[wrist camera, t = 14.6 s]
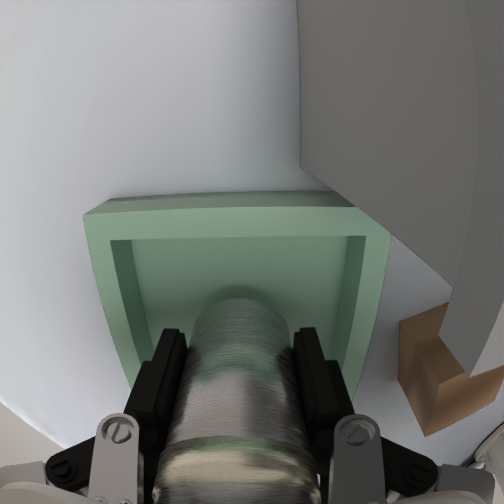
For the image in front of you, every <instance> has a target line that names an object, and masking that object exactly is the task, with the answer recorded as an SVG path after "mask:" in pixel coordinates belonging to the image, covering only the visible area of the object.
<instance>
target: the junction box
mask: <svg viewBox="0 0 504 504" xmlns="http://www.w3.org/2000/svg"><path fill="white" fill-rule="evenodd" d="M297 15H298V35H299V62H300V119H301V144H300V167H301V168H302V169H304V170H305V171H307V172H308V173H310V174H311V175H313V176H314V177H316V178H317V179H318V180H320V181H321V182H323V183H324V184H326V185H327V186H329V187H330V188H331V189H333V190H334V191H336V192H337V193H338V194H340V195H341V196H342V197H344V198H345V199H347V200H348V201H349V202H351V203H352V204H353V205H355V206H356V207H357V208H359V209H360V210H361V211H363V212H364V213H365V214H367V215H368V216H369V217H371V218H372V219H373V220H374V221H376V222H377V223H378V224H380V225H381V226H382V227H383V228H385V229H386V230H387V231H388V232H390V233H391V234H392V235H393V236H395V237H396V238H397V239H398V240H400V241H401V242H402V243H403V244H404V245H406V246H407V247H408V248H409V249H410V250H412V251H413V252H414V253H415V254H416V255H417V256H419V257H420V258H421V259H422V260H423V261H424V262H426V263H427V264H428V265H429V266H430V267H431V268H432V269H434V270H435V271H436V272H437V273H438V274H439V275H440V276H441V277H442V278H444V279H445V280H446V281H447V282H448V283H449V284H450V285H451V286H452V287H453V292H452V295H451V298H450V301H449V305H448V308H447V311H446V314H445V317H444V320H443V323H442V325H441V328H440V331H439V334H438V335H439V337H440V338H441V339H442V341H443V342H444V343H445V345H446V346H447V347H448V349H449V350H450V351H451V353H452V354H453V355H454V357H455V358H456V360H457V361H458V362H459V364H460V365H461V366H462V368H463V369H464V371H465V372H466V374H467V375H468V376H469V377H472V376H475V375H478V374H481V373H484V372H486V371H489V370H492V369H495V368H497V367H500V366H502V365H504V0H297Z"/></svg>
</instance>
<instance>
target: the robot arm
mask: <svg viewBox="0 0 504 504" xmlns="http://www.w3.org/2000/svg"><path fill="white" fill-rule="evenodd" d="M187 350H188V349H187V343H186V338H185V334H184V333H180V330H179V329H174V328H164V329H163V331H162V334H161V336H160V339H159V342H158V344H157V347H156V350H155V352H154V355H153V358H152V360H151V361H144V362H143V363H142V365H141V367H140V370H139V373H138V375H137V378H136V380H135V383H134V386H133V388H132V391H131V393H130V396H129V399H128V401H127V404H126V407H125V410H124V412H123V413H115V414H111V415H108V416H106V417H105V418H104V419H102V420H101V422H100V423H99V425H98V427H97V432H96V436H94V437H92V438H90V439H88V440H86V441H84V442H81V443H79V444H77V445H75V446H73V447H70V448H68V449H66V450H64V451H61V452H59V453H57V454H55V455H53V456H51V457H50V458H49V460H48V461H47V463H43V462H42V461H37V462H32V463H25V464H19V465H11V466H5V467H2V468H0V504H154V499H153V497H152V493H153V488H154V483H155V478H156V473H157V468H158V463H159V459H160V454H161V453H162V451H163V450H164V449H165V445H166V440H167V435H168V431H169V426H170V422H171V417H172V413H173V408H174V404H175V400H176V395H177V391H178V387H179V382H180V378H181V374H182V370H183V366H184V362H185V358H186V354H187ZM293 353H294V358H295V364H296V369H297V375H298V381H299V386H300V392H301V398H302V404H303V410H304V416H305V422H306V428H307V433H308V439H309V446H310V452H311V455H312V456H313V457H314V459H315V463H316V469H317V474H318V482H319V488H320V494H321V504H492V501H493V494H494V488H495V479H494V477H493V475H492V474H495V477H496V479H497V481H498V483H499V485H500V487H501V490H502V492H503V494H504V423H503V424H502V425H501V426H500V427H499V428H498V429H497V430H496V431H494V432H493V433H492V434H491V435H490V436H489V437H488V438H487V439H486V440H485V441H484V442H483V444H482V445H481V446H480V447H479V448H478V449H477V451H476V453H475V455H474V458H475V460H476V461H477V462H481V461H484V463H485V464H484V467H483V468H482V469H474V468H466V467H459V466H453V465H447V464H443V465H442V466H437V465H436V464H435V463H434V462H433V460H431V459H430V458H428V457H426V456H424V455H421V454H419V453H416V452H414V451H412V450H410V449H407V448H405V447H403V446H401V445H398V444H396V443H394V442H392V441H390V440H388V439H385V438H383V437H381V436H380V430H379V427H378V425H377V423H376V422H375V421H374V420H373V419H371V418H370V417H368V416H365V415H360V414H355V412H354V409H353V406H352V403H351V400H350V397H349V393H348V390H347V387H346V384H345V381H344V378H343V375H342V372H341V369H340V366H339V363H338V361H337V360H336V359H335V360H325V358H324V354H323V351H322V348H321V344H320V341H319V338H318V334H317V331H316V328H315V327H302V328H300V329H299V332H294V340H293Z"/></svg>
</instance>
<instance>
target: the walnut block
mask: <svg viewBox="0 0 504 504" xmlns="http://www.w3.org/2000/svg"><path fill="white" fill-rule="evenodd" d="M448 305H449V302H448V303H445V304H443V305H440V306H438V307H436V308H433V309H431V310H428V311H426V312H423V313H420V314H418V315H415V316H413V317H410V318H407V319H405V320H402V321H399V365H398V381H399V383H400V385H401V387H402V389H403V391H404V393H405V395H406V397H407V399H408V401H409V403H410V406H411V408H412V410H413V412H414V414H415V416H416V418H417V421H418V423H419V425H420V427H421V429H422V432H423V434H424V436H425V437H426V436H428V435H431V434H433V433H435V432H437V431H439V430H441V429H443V428H446V427H448V426H450V425H452V424H454V423H456V422H457V421H459V420H461V419H463V418H465V417H467V416H469V415H470V414H472V413H474V412H476V411H478V410H479V409H481V408H483V407H484V406H486V405H488V404H489V403H491V402H493V401H494V399H495V397H496V395H497V393H498V391H499V388H500V386H501V384H502V381H503V379H504V365H502V366H500V367H497V368H495V369H492V370H489V371H486V372H484V373H481V374H478V375H475V376H472V377H469V376H468V375H467V374H466V372H465V371H464V369H463V368H462V366H461V365H460V364H459V362H458V361H457V360H456V358H455V357H454V355H453V354H452V353H451V351H450V350H449V349H448V347H447V346H446V345H445V343H444V342H443V341H442V339H441V338H440V337H439V335H438V334H439V331H440V328H441V325H442V323H443V320H444V317H445V314H446V311H447V308H448Z"/></svg>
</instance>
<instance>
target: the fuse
mask: <svg viewBox="0 0 504 504" xmlns="http://www.w3.org/2000/svg"><path fill="white" fill-rule="evenodd" d="M152 497H153V499H154V504H321V494H320V488H319V482H318V476H317V469H316V463H315V459H314V457H313V456H312V455H311V452H310V446H309V439H308V433H307V428H306V422H305V416H304V410H303V404H302V398H301V392H300V386H299V381H298V375H297V369H296V364H295V358H294V353H293V347H292V342H291V336H290V331H289V327H288V324H287V322H286V321H285V319H284V318H283V316H282V315H281V314H280V313H279V312H278V311H277V310H275V309H274V308H273V307H271V306H269V305H267V304H265V303H263V302H260V301H257V300H253V299H246V298H235V299H227V300H223V301H220V302H217V303H215V304H213V305H211V306H209V307H208V308H207V309H205V310H204V311H203V312H202V313H201V314H200V315H199V316H198V318H197V319H196V321H195V323H194V326H193V330H192V334H191V338H190V342H189V346H188V350H187V354H186V358H185V362H184V366H183V370H182V374H181V378H180V382H179V387H178V391H177V395H176V400H175V404H174V408H173V413H172V417H171V422H170V426H169V431H168V435H167V440H166V445H165V449H164V450H163V451H162V453H161V454H160V459H159V463H158V468H157V473H156V478H155V483H154V488H153V493H152Z"/></svg>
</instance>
